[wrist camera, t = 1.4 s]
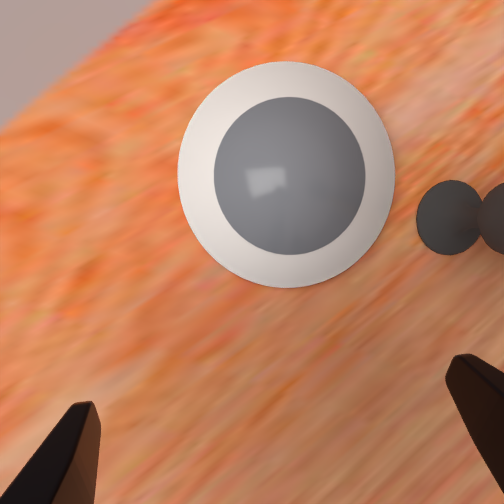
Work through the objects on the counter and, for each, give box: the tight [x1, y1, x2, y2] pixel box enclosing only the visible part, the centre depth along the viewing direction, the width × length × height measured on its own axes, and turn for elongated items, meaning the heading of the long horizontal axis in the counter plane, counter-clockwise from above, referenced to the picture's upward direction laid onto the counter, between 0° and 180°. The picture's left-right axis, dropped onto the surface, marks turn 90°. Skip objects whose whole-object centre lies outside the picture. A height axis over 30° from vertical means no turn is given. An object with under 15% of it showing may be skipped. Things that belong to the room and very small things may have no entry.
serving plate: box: [178, 61, 395, 288], centre depth 22 cm, size 13×13×1 cm
